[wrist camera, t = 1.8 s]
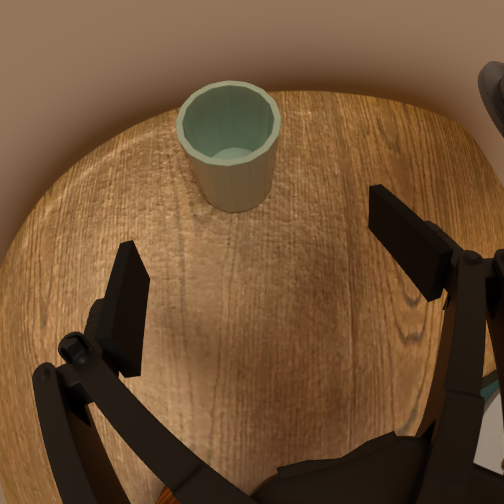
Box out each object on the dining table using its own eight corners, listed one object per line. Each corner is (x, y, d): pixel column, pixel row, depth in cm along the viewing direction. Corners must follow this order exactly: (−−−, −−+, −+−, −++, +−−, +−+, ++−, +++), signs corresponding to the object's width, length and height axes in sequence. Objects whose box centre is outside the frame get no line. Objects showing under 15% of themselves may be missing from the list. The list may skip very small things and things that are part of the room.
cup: (262, 140, 33) (265, 73, 22) (280, 203, 31) (293, 153, 20) (194, 155, 32) (171, 93, 21) (206, 220, 31) (184, 176, 20)
